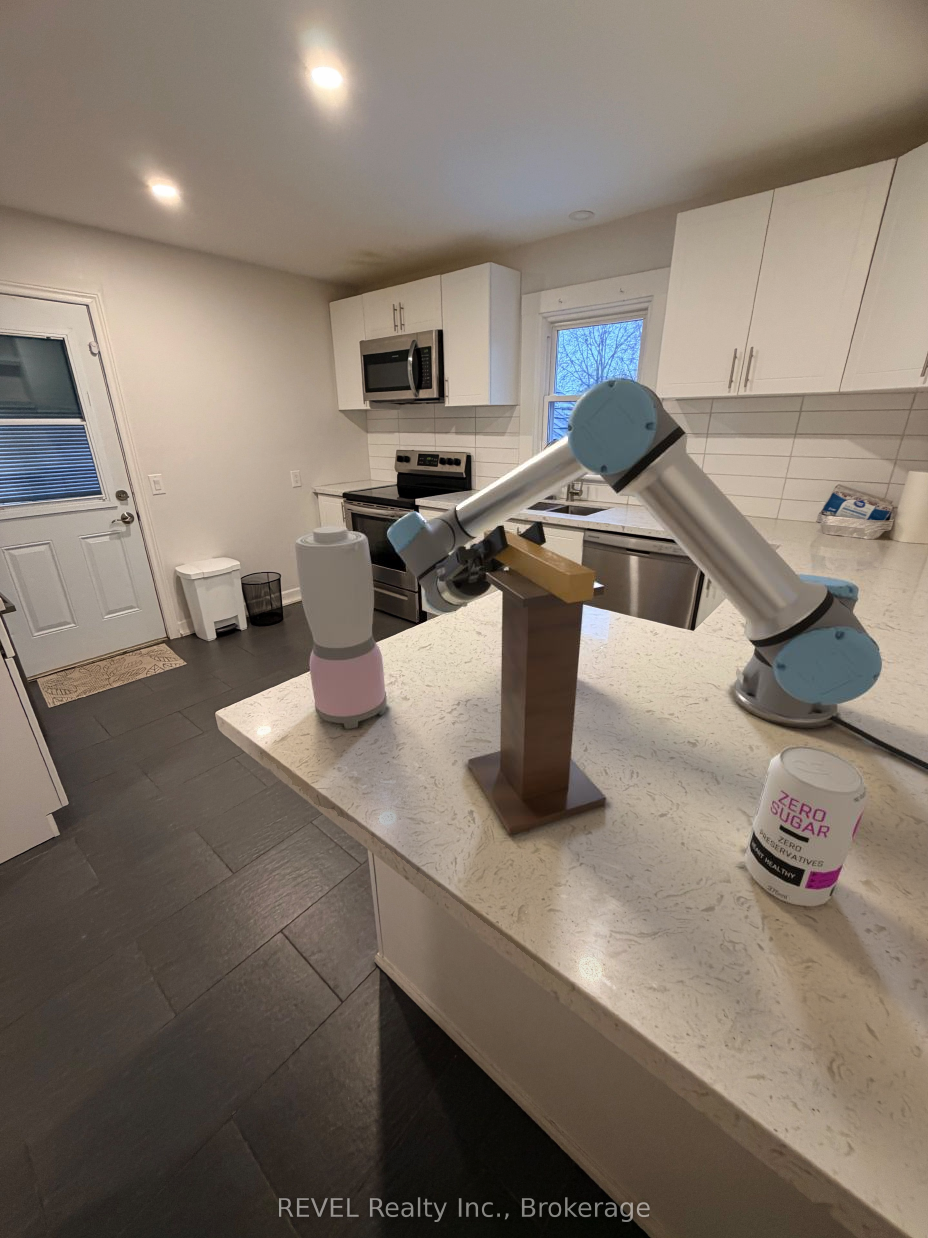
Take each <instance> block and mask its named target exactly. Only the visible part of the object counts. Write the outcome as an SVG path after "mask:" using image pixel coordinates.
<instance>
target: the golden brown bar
mask: <svg viewBox="0 0 928 1238" xmlns="http://www.w3.org/2000/svg"><path fill="white" fill-rule="evenodd" d="M493 530H494V529H490V530H487V531H484V533H483V539H484V538H485V537H486V536H487V535H488V534H490V533H491V532H492V531H493ZM504 530H505V534H506V539H507V544H508V547H507V548H506V549H504V550H503V551H502V552H500V553H499V554H498V555H497V556H495V557H494V558H495V559H497V560H498V561H500V562H502V563H503V564H505V565H506V566H508V567H510V568H511V569H513V570H515V571H516V572H518V573H520V574H521V575H523V576H524V577H526V578H528V579H529V580H531V581H533V582H534V583H536V584H538V585H539V586H541V587H543V588H544V589H546V590H547V591H549V592H551V593H552V594H554V595H556V596H557V597H559V598H561V599H562V600H564V601H566V602H567V603H572V602H578V601H583V602H585V601H589V600H594V596H593V593H594V582H596V581H595V580H596V571H595V570H593V569H591V568H589V567H587V566H584V565H583V564H580V563H578V562H576V561H574V560H571V559H570V558H567V557H566V556H563V555H561V554H559V553H556V552H554V551H553V550H550V549H548V548H546V547H544V546H542V545H541V546H539V545H537V544H535V543H533V542H531V541H528V540H526V539H524V538H522V537H520V536H518V534H515V533H514V532H512V531H509V530H507V529H505V528H504Z"/></svg>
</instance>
